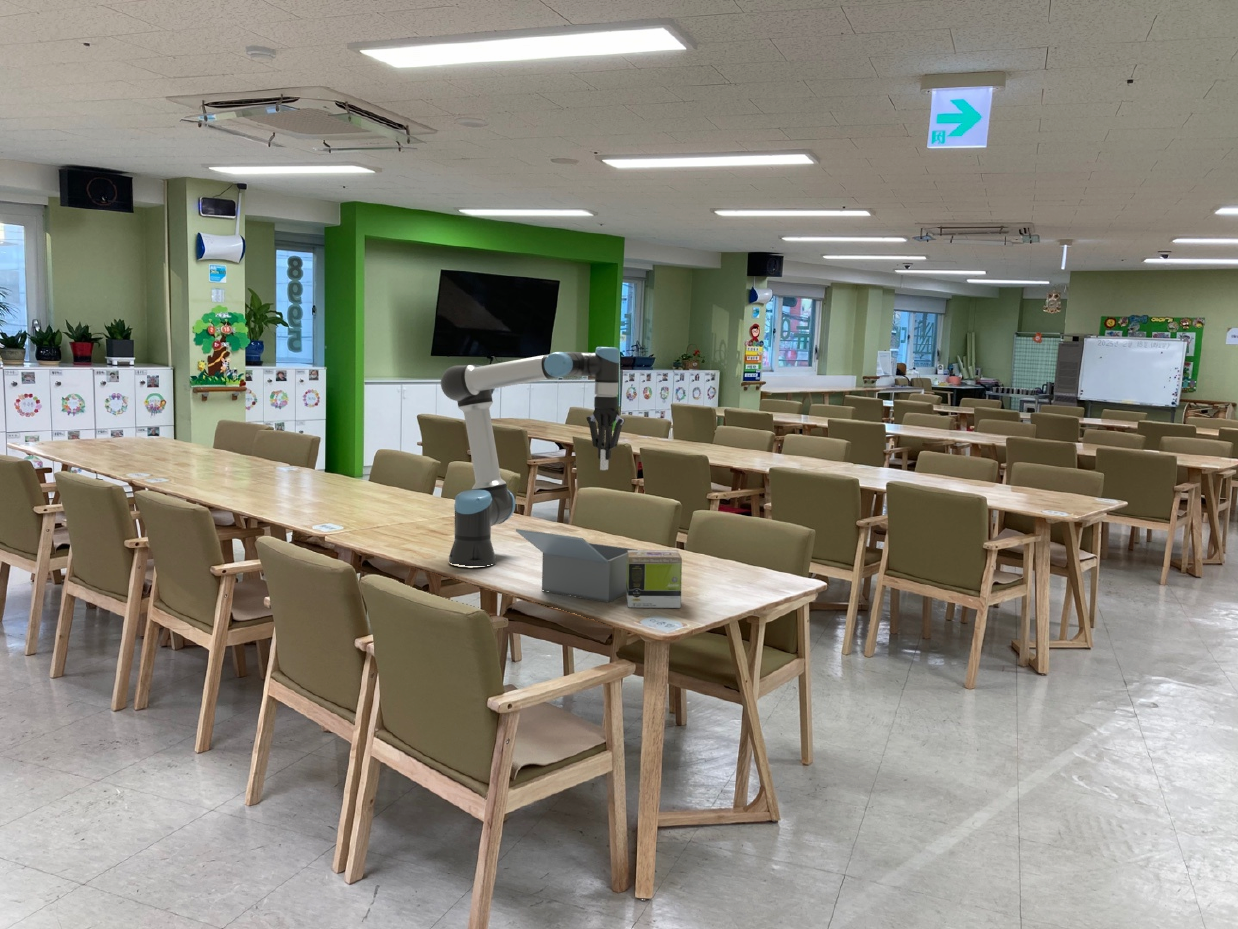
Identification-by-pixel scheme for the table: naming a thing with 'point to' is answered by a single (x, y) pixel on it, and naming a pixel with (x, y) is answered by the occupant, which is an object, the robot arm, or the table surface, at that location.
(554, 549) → the lid
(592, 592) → the storage box
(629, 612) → the table surface
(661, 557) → the tea box
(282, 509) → the table surface
